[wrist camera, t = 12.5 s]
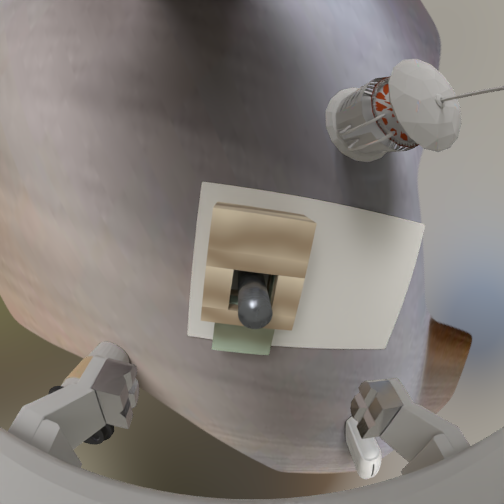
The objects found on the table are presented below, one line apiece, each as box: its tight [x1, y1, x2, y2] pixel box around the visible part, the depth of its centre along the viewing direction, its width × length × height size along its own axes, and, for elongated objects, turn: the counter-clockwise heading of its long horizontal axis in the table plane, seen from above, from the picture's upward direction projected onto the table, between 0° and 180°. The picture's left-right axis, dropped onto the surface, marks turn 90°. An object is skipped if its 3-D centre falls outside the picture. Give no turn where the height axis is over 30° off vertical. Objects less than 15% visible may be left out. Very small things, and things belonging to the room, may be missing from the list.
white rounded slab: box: [346, 417, 381, 479], centre depth 39 cm, size 10×4×12 cm, turn 14°
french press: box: [325, 59, 504, 162], centre depth 18 cm, size 10×12×25 cm
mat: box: [187, 182, 425, 349], centre depth 34 cm, size 20×30×1 cm, turn 81°
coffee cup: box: [48, 342, 129, 444], centre depth 29 cm, size 9×9×15 cm
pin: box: [238, 270, 273, 329], centre depth 29 cm, size 3×3×10 cm
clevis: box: [201, 202, 317, 355], centre depth 31 cm, size 17×10×6 cm, turn 171°
